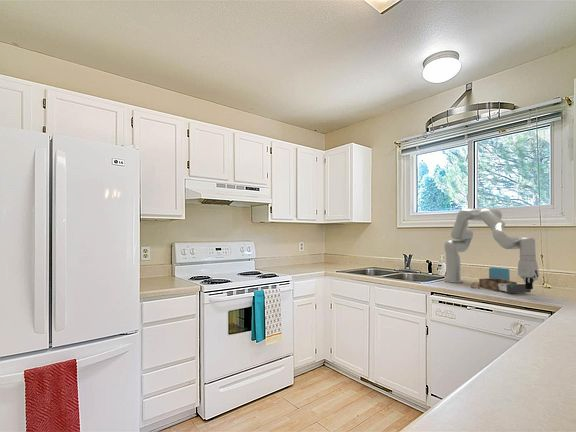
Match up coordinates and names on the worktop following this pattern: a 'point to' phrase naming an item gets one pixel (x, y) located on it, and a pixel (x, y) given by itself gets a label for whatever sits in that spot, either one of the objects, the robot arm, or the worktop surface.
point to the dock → (493, 283)
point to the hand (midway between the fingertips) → (529, 289)
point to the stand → (474, 285)
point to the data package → (499, 273)
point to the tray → (514, 288)
